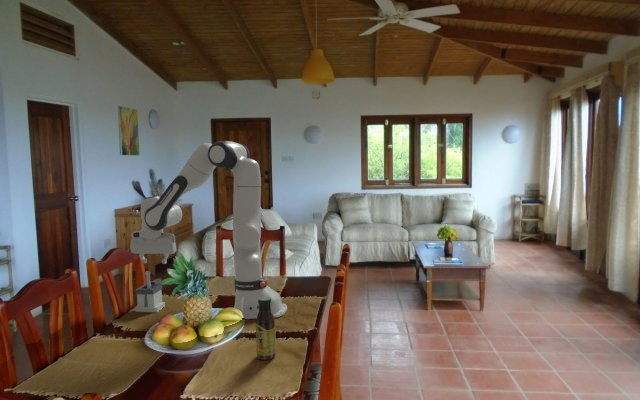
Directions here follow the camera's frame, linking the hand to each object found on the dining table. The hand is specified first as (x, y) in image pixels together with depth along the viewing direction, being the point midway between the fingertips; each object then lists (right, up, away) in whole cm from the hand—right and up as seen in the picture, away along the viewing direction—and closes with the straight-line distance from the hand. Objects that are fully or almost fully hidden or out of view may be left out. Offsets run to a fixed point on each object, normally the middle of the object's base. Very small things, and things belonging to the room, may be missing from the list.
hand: (154, 263), depth 201 cm
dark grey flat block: (0, -11, -3) cm, 11 cm away
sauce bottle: (+56, -23, -54) cm, 81 cm away
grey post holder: (0, -19, -4) cm, 20 cm away
